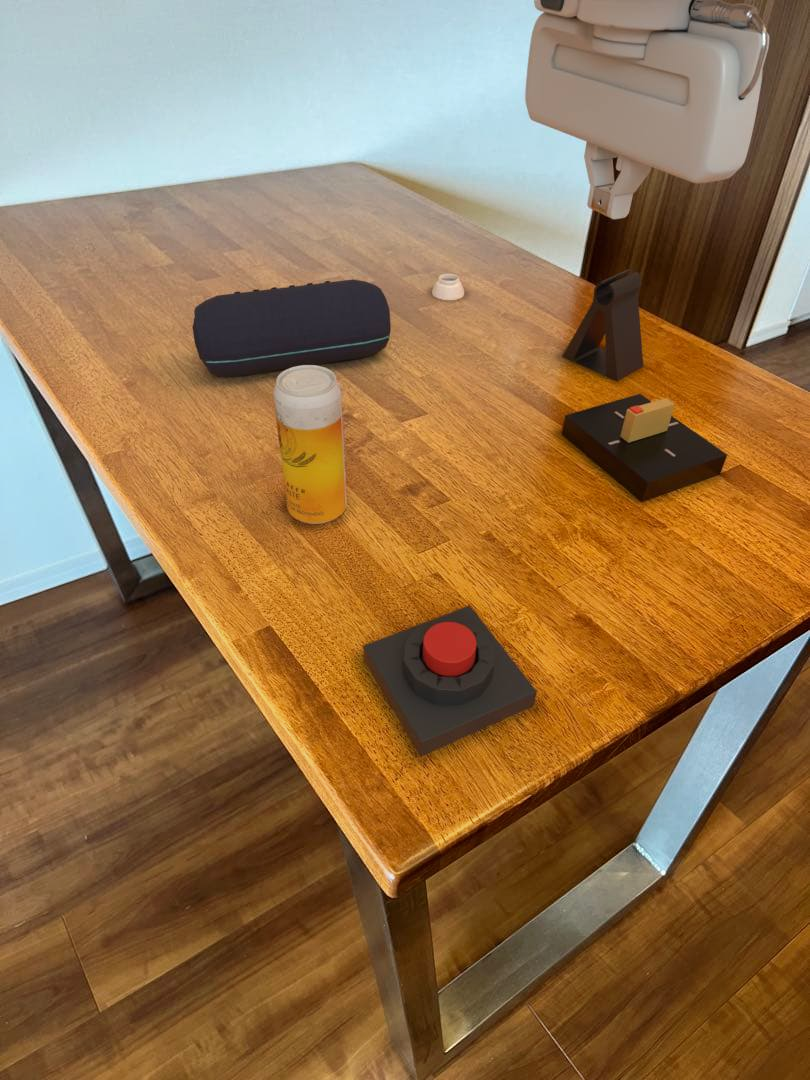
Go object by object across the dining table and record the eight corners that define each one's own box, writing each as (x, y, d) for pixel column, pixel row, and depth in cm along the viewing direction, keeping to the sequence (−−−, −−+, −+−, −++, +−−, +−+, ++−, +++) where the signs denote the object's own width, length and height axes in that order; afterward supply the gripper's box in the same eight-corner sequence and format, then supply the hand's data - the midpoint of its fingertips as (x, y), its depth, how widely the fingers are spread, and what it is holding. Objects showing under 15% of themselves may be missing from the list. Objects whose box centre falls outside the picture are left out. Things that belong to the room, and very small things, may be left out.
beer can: (281, 498, 76) (264, 368, 66) (337, 486, 78) (329, 358, 68) (296, 535, 72) (280, 402, 62) (355, 521, 73) (349, 390, 63)
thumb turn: (658, 424, 82) (667, 395, 79) (667, 431, 81) (676, 401, 78) (619, 436, 80) (627, 407, 77) (628, 443, 79) (636, 413, 77)
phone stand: (561, 359, 99) (576, 271, 91) (587, 345, 102) (604, 259, 94) (616, 384, 95) (637, 294, 87) (642, 369, 98) (665, 281, 90)
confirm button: (484, 665, 55) (486, 650, 54) (438, 684, 54) (439, 669, 53) (458, 629, 58) (459, 615, 57) (413, 647, 57) (414, 632, 56)
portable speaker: (375, 334, 104) (374, 264, 97) (396, 367, 97) (397, 294, 90) (196, 358, 98) (182, 286, 91) (205, 395, 91) (191, 319, 84)
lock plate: (719, 477, 80) (728, 453, 78) (640, 505, 76) (648, 480, 74) (634, 415, 89) (640, 392, 87) (560, 437, 85) (565, 413, 83)
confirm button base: (533, 708, 57) (540, 676, 54) (420, 759, 53) (422, 728, 51) (468, 622, 64) (471, 590, 61) (363, 662, 60) (362, 630, 57)
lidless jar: (432, 302, 112) (464, 303, 112) (432, 283, 110) (465, 284, 110) (431, 289, 116) (463, 289, 116) (432, 270, 114) (464, 271, 114)
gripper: (817, 6, 41) (738, 252, 51) (591, -26, 55) (562, 173, 64) (735, 11, 39) (669, 267, 48) (521, -24, 53) (501, 182, 62)
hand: (607, 213), depth 56 cm, fingers closed
